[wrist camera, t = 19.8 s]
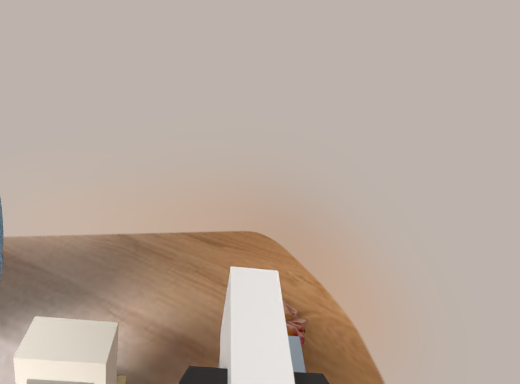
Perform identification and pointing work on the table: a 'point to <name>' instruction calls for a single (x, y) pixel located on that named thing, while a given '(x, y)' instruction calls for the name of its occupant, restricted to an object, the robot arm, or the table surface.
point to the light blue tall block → (294, 354)
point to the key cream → (67, 352)
